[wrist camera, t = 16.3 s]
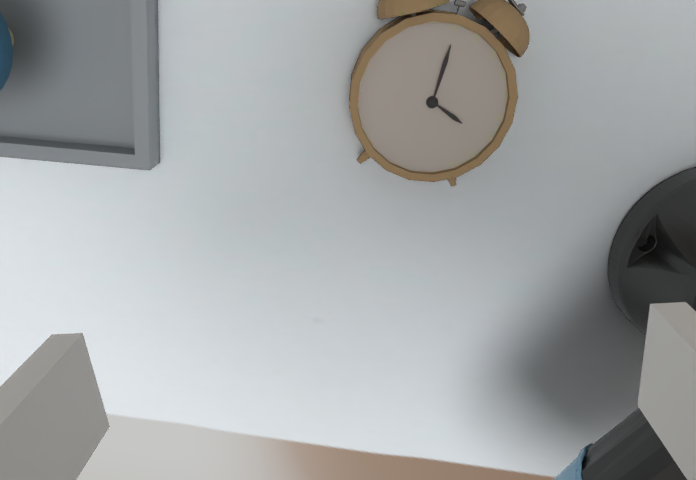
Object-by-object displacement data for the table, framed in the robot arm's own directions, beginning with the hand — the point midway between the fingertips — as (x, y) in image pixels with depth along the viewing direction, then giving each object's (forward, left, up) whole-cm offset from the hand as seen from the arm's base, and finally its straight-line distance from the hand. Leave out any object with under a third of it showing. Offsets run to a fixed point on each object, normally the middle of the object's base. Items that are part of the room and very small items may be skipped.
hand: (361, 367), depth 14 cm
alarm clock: (+1, -8, -31) cm, 32 cm away
